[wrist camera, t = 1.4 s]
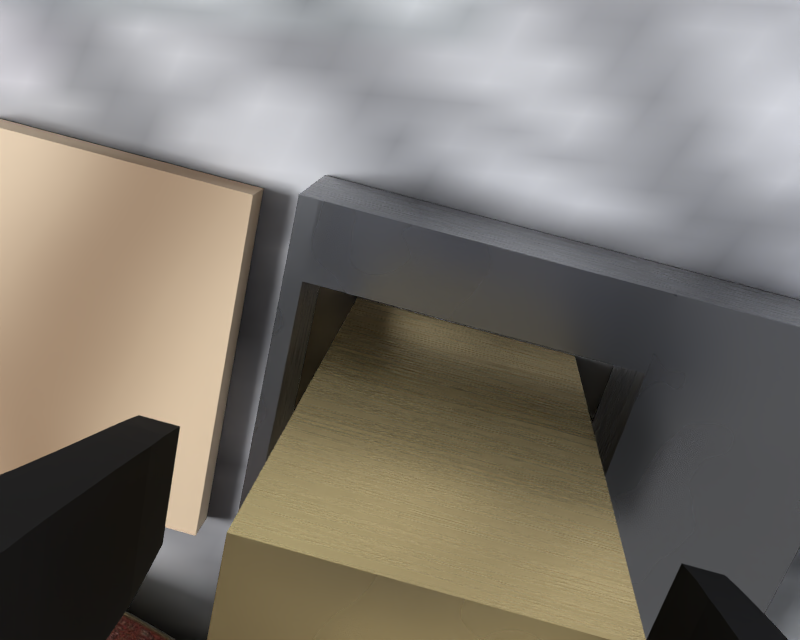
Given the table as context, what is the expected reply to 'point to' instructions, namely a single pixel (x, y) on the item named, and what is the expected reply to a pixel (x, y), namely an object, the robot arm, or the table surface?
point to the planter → (136, 630)
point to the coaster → (118, 301)
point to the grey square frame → (596, 339)
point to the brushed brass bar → (429, 499)
